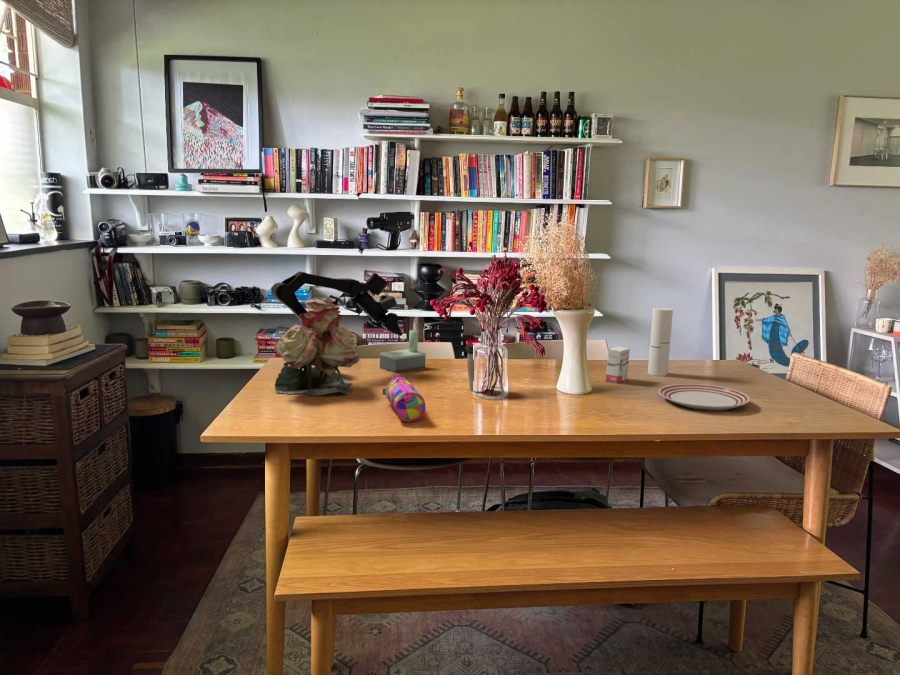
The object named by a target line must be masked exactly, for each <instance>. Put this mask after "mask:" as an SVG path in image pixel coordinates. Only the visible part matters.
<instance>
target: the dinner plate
mask: <svg viewBox="0 0 900 675" xmlns="http://www.w3.org/2000/svg"><path fill="white" fill-rule="evenodd" d="M658 394H659V395H660V396H661V397H663V398H665V399H666V400H668V401H670V402H673V403H675V404H677V405H679V404H680V406H682V405H683V406H682V407H685V406H686V408H689V407H691V408H690V409H694V408H696V409H695V410H701V409H705V410H704V411H727V410H730V409H735V408H736V409H737V408H739V407H742V406H745V405H746V404H748V403H749V402H750V401H751V398H750V396H749V395H747V394H746V393H744V392H741V391H739V390H735V389H733V388H729V387H725V386H719V385H712V384H711V385H710V384H704V383H703V384H701V383H679V384H669V385H664V386H663V387H661V388H659V389H658ZM726 409H727V410H726Z"/></svg>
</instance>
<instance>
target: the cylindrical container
mask: <svg viewBox="0 0 900 675" xmlns="http://www.w3.org/2000/svg"><path fill="white" fill-rule="evenodd" d="M673 312H674V309H673V308H669V307H653V308H652V318H651V327H650V328H651V329H650V331H651V332H650V340H649V341H650V342H649V344H650V345H649V353H648V354H649V356H648V366H647V367H648V368H647V374H648V373H649V374H648V375H650V374H651V375H650V376H654V375H656V376H655V377H666V375H667V376H668V370H669V360H670V349H671V348H670V347H671V337H672V328H673V327H672V325H673Z"/></svg>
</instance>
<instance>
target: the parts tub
mask: <svg viewBox="0 0 900 675" xmlns="http://www.w3.org/2000/svg"><path fill="white" fill-rule="evenodd" d="M379 368H380V369H383V370H386V371H387V372H388V371H389V372H391V373H394V374H396V373H397V374H398V373H404V372H410V371H416V370H423V369H425V368H426V354H425V355H424V356H417V357H410V358H403V359H396V360H395V359H392V358H388V357H385V356H382V355H380V354H379Z"/></svg>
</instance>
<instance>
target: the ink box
mask: <svg viewBox="0 0 900 675" xmlns="http://www.w3.org/2000/svg"><path fill="white" fill-rule="evenodd" d="M630 351H631V348H630V347H626V346H619V345H617V346H615V347H611V348H609V349H608V353H607V364H606V374H605V382H609V383H614V384H619V383H621V382H623V381H626V380H627V379H628V373H629V372H628V371H629V359H630Z"/></svg>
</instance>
